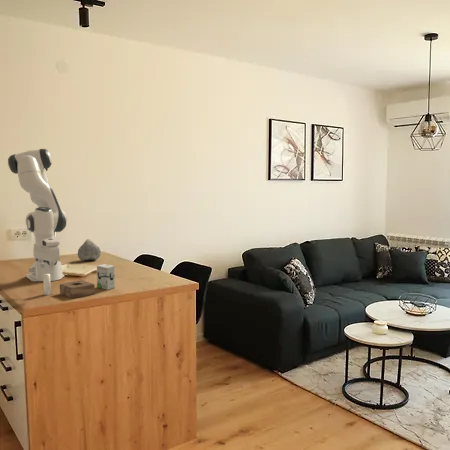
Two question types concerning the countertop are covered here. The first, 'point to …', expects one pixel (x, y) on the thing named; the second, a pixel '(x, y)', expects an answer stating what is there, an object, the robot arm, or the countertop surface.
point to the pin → (47, 284)
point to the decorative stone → (89, 251)
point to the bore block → (77, 289)
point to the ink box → (105, 276)
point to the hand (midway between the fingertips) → (46, 268)
